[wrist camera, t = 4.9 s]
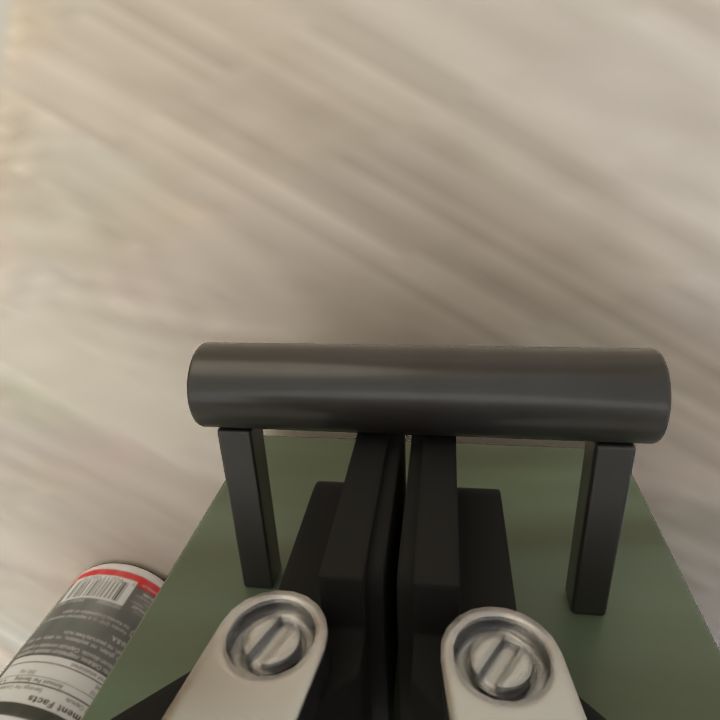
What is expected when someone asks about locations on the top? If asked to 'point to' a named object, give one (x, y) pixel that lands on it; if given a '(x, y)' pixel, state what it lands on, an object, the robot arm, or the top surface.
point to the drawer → (474, 470)
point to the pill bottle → (77, 644)
